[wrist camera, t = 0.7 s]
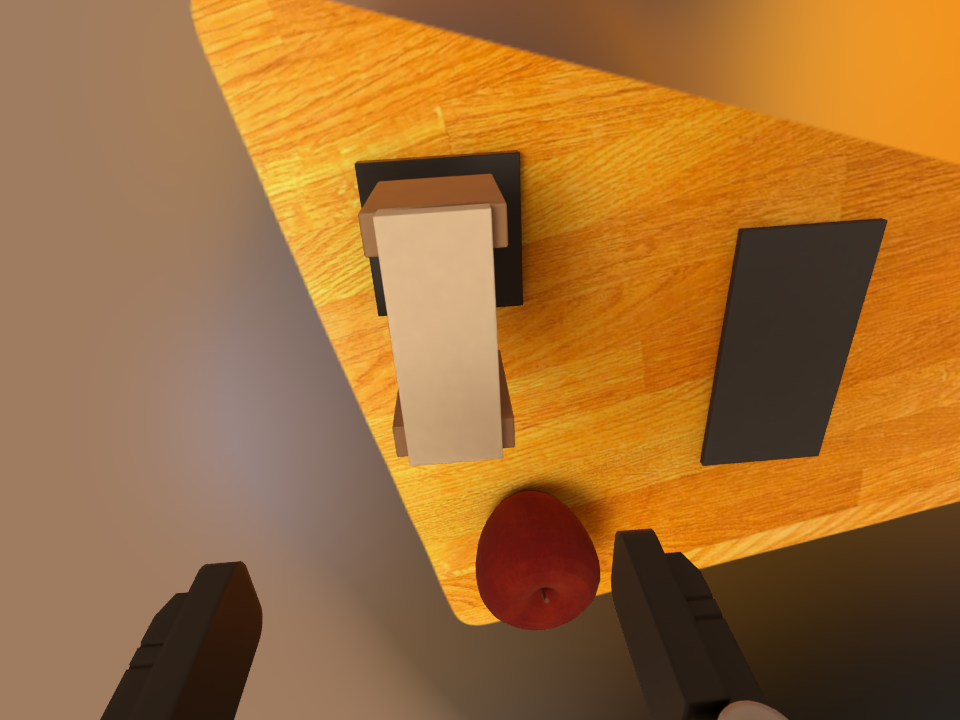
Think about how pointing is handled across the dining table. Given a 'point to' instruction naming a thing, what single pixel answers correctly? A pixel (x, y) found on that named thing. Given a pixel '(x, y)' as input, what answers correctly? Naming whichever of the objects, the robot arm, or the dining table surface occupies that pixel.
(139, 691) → the robot arm
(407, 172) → the stand
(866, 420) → the dining table surface
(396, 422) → the beige wooden bench
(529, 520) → the apple
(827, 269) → the mat
